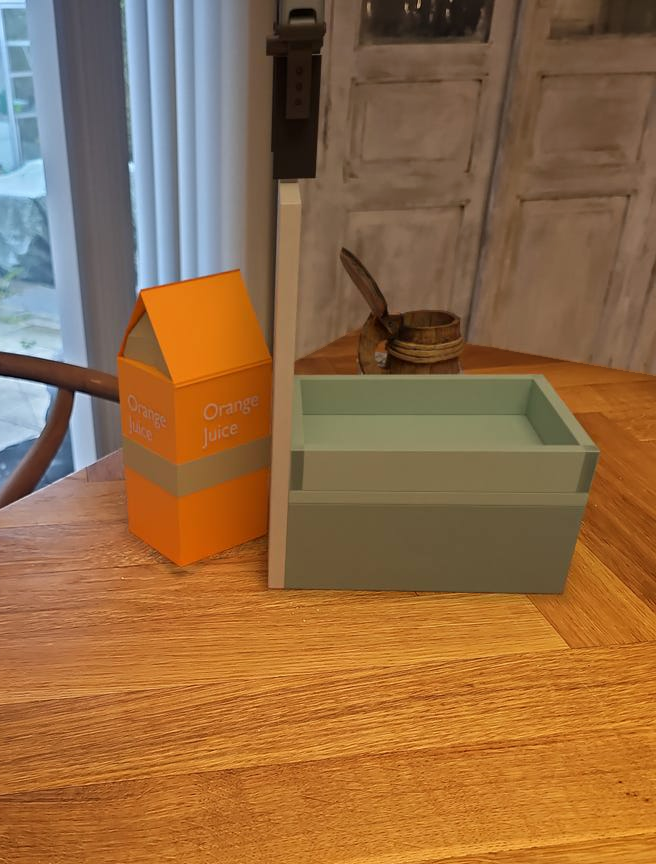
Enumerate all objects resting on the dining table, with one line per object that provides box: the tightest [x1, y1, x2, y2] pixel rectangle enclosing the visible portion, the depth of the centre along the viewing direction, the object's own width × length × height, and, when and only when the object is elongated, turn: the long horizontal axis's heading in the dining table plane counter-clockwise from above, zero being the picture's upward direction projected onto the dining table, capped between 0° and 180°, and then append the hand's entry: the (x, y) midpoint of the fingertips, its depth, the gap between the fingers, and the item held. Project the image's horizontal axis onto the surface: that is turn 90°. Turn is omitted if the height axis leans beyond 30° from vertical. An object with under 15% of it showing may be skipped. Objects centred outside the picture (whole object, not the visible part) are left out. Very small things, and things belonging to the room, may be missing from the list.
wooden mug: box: [339, 246, 464, 375], centre depth 83 cm, size 9×14×18 cm, turn 100°
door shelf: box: [267, 179, 601, 595], centre depth 63 cm, size 21×15×26 cm
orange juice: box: [116, 268, 273, 568], centre depth 67 cm, size 8×9×20 cm
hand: (291, 164), depth 61 cm, fingers open, 13 cm apart
